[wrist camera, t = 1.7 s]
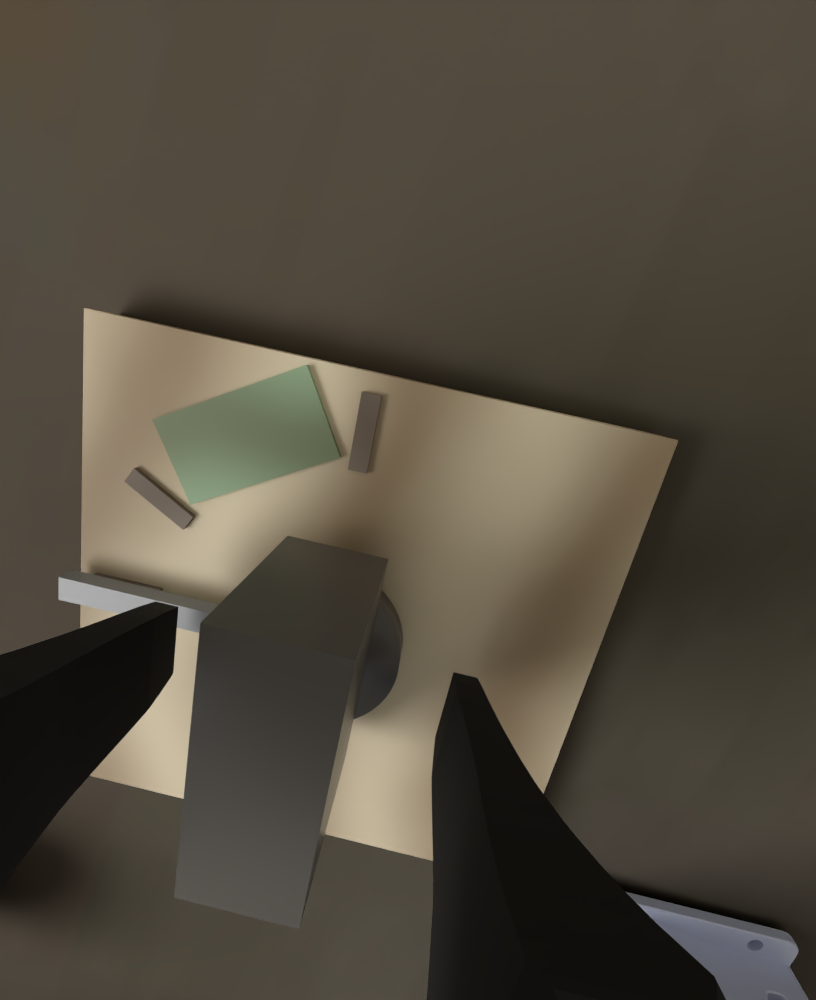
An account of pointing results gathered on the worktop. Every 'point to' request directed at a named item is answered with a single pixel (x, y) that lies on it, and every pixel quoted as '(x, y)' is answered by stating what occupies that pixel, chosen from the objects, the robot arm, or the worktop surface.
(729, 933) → the robot arm
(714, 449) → the worktop surface
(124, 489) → the board
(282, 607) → the dark angled piece
